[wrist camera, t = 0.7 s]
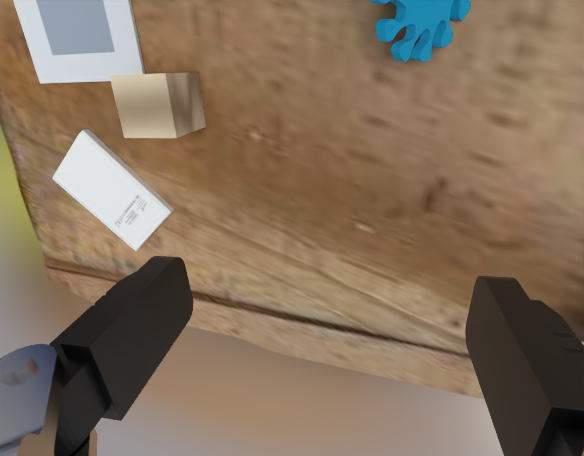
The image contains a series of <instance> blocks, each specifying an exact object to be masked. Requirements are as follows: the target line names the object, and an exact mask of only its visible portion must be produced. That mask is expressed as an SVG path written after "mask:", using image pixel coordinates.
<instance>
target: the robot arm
mask: <svg viewBox="0 0 584 456" xmlns="http://www.w3.org/2000/svg"><path fill="white" fill-rule="evenodd" d="M192 311H193V298H192V293H191V289H190V285H189V280H188V276H187V272H186V267H185V264H184V261H183V260H182V259H181V258H180V257H166V256H154V257H152V258H151V259H150V260H149V261H148V262H146V263H145V264H144V265H143V266H142V267H141V268H140V269H139V270H138V271H136V272H134V273H133V274H131V275H129V276H127V277H125V278H124V279H122V280H120V281H119V282H117V283H116V284H115V285H114V286H113V287H112V288H111V289H110V290H109V291H108V292H106V295H105V296H104V295H103V296H102V297H101V298H100V299H99V300H98V301H96V302H95V305H94V306H91V307H90V308H89V309H88V310H87V311H85V312H84V313H83V314H82V315H81V316H80V317H79V318H78V319H77V320H76V321H74V322H73V323H72V324H71V325H70V326H69V327H68V328H67V329H66V330H65V331H63V332H62V333H61V334H60V335H59V336H58V337H57V338H56V339H54V340H53V341H52V342H51V343H50V344H49V345H47V344H35V345H30V346H26V347H23V348H20V349H17V350H15V351H13V352H11V353H9V354H7V355H5V356H3V357H2V358H0V456H97V433H96V430H95V428H94V427H95V426H96V424H97V423H98V422H99V420H100V419H101V418H108V419H114V420H120V421H121V420H122V419H123V417H124V416H125V414H126V413H127V411H128V410H129V409H130V407H131V405H132V404H133V403H134V401H135V400H136V398H137V397H138V395H139V394H140V392H141V391H142V389H143V388H144V386H145V385H146V383H147V382H148V380H149V379H150V377H151V376H152V374H153V373H154V372H155V370H156V369H157V367H158V366H159V364H160V363H161V361H162V360H163V358H164V357H165V355H166V354H167V352H168V351H169V349H170V348H171V346H172V345H173V343H174V342H175V340H176V339H177V337H178V336H179V335H180V333H181V332H182V330H183V329H184V327H185V326H186V324H187V323H188V321H189V320H190V317H191V315H192ZM466 344H467V348H468V352H469V355H470V357H471V360H472V363H473V366H474V369H475V372H476V375H477V378H478V381H479V384H480V387H481V390H482V392H483V395H484V398H485V401H486V404H487V407H488V410H489V413H490V416H491V419H492V422H493V425H494V427H495V430H496V433H497V436H498V439H499V442H500V445H501V448H502V451H503V453H504V456H584V345H583V344H582V343H581V341H580V340H579V339H578V338H576V337H575V333H574V332H573V331H572V329H571V328H570V327H569V325H568V324H567V323H566V321H565V320H564V319H563V317H562V316H561V315H559V314H558V313H557V312H555V311H554V310H552V309H551V308H550V307H548V306H547V305H546V304H544V303H543V302H542V301H539V300H530V299H529V297H528V296H527V294H526V293H525V291H524V290H523V288H522V287H521V285H520V284H519V282H518V281H517V280H516V279H515V278H508V277H491V276H479V277H478V278H477V280H476V282H475V286H474V291H473V295H472V300H471V304H470V309H469V313H468V318H467V322H466Z"/></svg>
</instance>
